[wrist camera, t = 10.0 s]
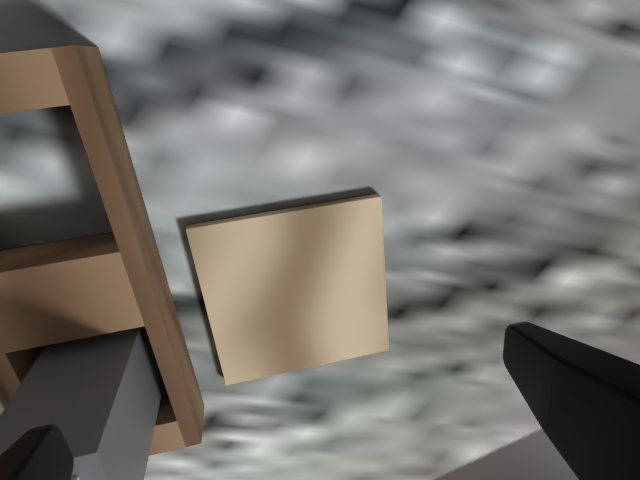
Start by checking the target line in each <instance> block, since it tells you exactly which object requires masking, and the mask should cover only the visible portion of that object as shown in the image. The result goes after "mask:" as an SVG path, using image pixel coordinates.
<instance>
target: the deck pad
mask: <svg viewBox="0 0 640 480" xmlns="http://www.w3.org/2000/svg"><path fill="white" fill-rule="evenodd" d="M186 233H187V237H188V241H189V245H190V248H191V252H192V256H193V260H194V264H195V268H196V272H197V275H198V279H199V283H200V287H201V291H202V295H203V298H204V302H205V306H206V310H207V314H208V318H209V322H210V325H211V329H212V333H213V337H214V341H215V345H216V348H217V352H218V356H219V360H220V364H221V368H222V372H223V375H224V379H225V383H226V385H230V384H235V383H240V382H244V381H249V380H253V379H258V378H263V377H267V376H272V375H277V374H281V373H286V372H290V371H295V370H300V369H304V368H309V367H313V366H318V365H323V364H327V363H332V362H336V361H341V360H346V359H350V358H355V357H359V356H364V355H369V354H373V353H378V352H382V351H387V350H389V342H388V322H387V301H386V281H385V261H384V241H383V221H382V200H381V196H380V195H379V194H372V195H366V196H360V197H354V198H348V199H342V200H336V201H330V202H324V203H318V204H312V205H306V206H300V207H294V208H288V209H282V210H276V211H270V212H264V213H258V214H252V215H246V216H240V217H233V218H227V219H221V220H215V221H209V222H203V223H197V224H191V225H187V226H186Z"/></svg>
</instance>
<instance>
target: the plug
mask: <svg viewBox="0 0 640 480" xmlns="http://www.w3.org/2000/svg"><path fill="white" fill-rule="evenodd" d="M163 385H164V381H163V378H162V375H161V372H160V370H159V367H158V364H157V361H156V358H155V355H154V352H153V349H152V346H151V343H150V340H149V337H148V334H147V331H146V328H145V326H143V327H138V328H133V329H128V330H123V331H117V332H112V333H107V334H102V335H97V336H92V337H87V338H81V339H76V340H71V341H66V342H61V343H56V344H51V345H46V346H45V348H44V349H43V351H42V352H41V354H40V355H39V357H38V358H37V360H36V361H35V363H34V364H33V366H32V367H31V369H30V371H29V372H28V374H27V375H26V377H25V378H24V380H23V381H22V383H21V384H20V386H19V387H18V389H17V391H16V392H15V394H14V395H13V397H12V398H11V400H10V401H9V403H8V404H7V406H6V407H5V409H4V410H3V412H2V414H1V415H0V455H1V454H2V453H3V452H4V451H5V450H6V449H7V448H9V447H10V446H11V445H12V444H13V443H14V442H15V441H17V440H18V439H19V438H20V437H21V436H22V435H23V434H24V433H26V432H27V431H28V430H29V429H31V428H34V427H38V426H43V425H47V424H56V425H58V426H59V427H60V429H61V431H62V433H63V435H64V437H65V439H66V441H67V443H68V445H69V447H70V449H71V451H72V454H73V457H74V467H73V472H72V478H71V480H144V475H145V471H146V466H147V461H148V456H149V452H150V447H151V442H152V437H153V433H154V428H155V423H156V419H157V414H158V409H159V404H160V400H161V395H162V390H163Z"/></svg>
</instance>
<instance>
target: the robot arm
mask: <svg viewBox="0 0 640 480" xmlns="http://www.w3.org/2000/svg"><path fill="white" fill-rule="evenodd" d="M503 360H504V364H505V366H506V368H507V370H508V372H509V373H510V375H511V377H512V379H513V380H514V382H515V384H516V385H517V387H518V389H519V390H520V392H521V394H522V395H523V397H524V399H525V400H526V402H527V404H528V406H529V407H530V409H531V411H532V412H533V414H534V416H535V417H536V419H537V421H538V422H539V424H540V426H541V427H542V429H543V430H544V432H545V433H546V435H547V436H548V438H549V439H550V440H551V442H552V443H553V445H554V446H555V447H556V449H557V450H558V451H559V453H560V454H561V456H562V457H563V458H564V460H565V461H566V462H567V464H568V465H569V466H570V468H571V469H572V471H573V472H574V473H575V475H576V476H577V477H578V479H579V480H640V365H639V364H636V363H634V362H631V361H629V360H626V359H623V358H621V357H618V356H615V355H613V354H610V353H608V352H605V351H602V350H600V349H597V348H595V347H592V346H589V345H587V344H584V343H581V342H579V341H576V340H574V339H571V338H568V337H566V336H563V335H560V334H558V333H555V332H553V331H550V330H547V329H545V328H542V327H539V326H537V325H534V324H532V323H529V322H520V323H515V324H511V325H509V326H507V328H506V330H505V338H504V349H503ZM73 467H74V457H73V454H72V451H71V449H70V447H69V445H68V443H67V441H66V439H65V437H64V435H63V433H62V431H61V429H60V427H59V426H58V425H56V424H47V425H43V426H38V427H34V428H31V429H29V430H28V431H27V432H26V433H24V434H23V435H22V436H21V437H20V438H19V439H18V440H17V441H15V442H14V443H13V444H12V445H11V446H10V447H9V448H7V449H6V450H5V451H4V452H3V453H2V454H1V455H0V480H71V478H72V472H73Z"/></svg>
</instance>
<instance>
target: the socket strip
mask: <svg viewBox="0 0 640 480" xmlns="http://www.w3.org/2000/svg"><path fill="white" fill-rule="evenodd" d="M66 105H70V106H71V109H72V112H73V115H74V118H75V121H76V124H77V127H78V130H79V133H80V136H81V139H82V142H83V145H84V148H85V151H86V154H87V157H88V160H89V163H90V166H91V169H92V172H93V174H94V177H95V180H96V183H97V186H98V189H99V192H100V195H101V198H102V201H103V204H104V207H105V210H106V213H107V216H108V219H109V222H110V225H111V228H112V231H113V232H110V233H104V234H98V235H92V236H86V237H80V238H74V239H68V240H62V241H56V242H50V243H43V244H37V245H31V246H25V247H19V248H13V249H7V250H1V251H0V415H1V414H2V412H3V410H4V409H5V407H6V406H7V404H8V403H9V401H10V400H11V398H12V397H13V395H14V394H15V392H16V391H17V389H18V387H19V386H20V384H21V383H22V381H23V380H24V378H25V377H26V375H27V374H28V372H29V371H30V369H31V367H32V366H33V364H34V363H35V361H36V360H37V358H38V357H39V355H40V354H41V352H42V351H43V349H44V348H45V345H51V344H56V343H61V342H66V341H71V340H76V339H81V338H87V337H92V336H97V335H102V334H107V333H112V332H117V331H123V330H128V329H133V328H138V327H143V326H145V328H146V331H147V334H148V337H149V340H150V343H151V346H152V349H153V352H154V355H155V358H156V361H157V364H158V367H159V370H160V372H161V375H162V378H163V381H164V384H165V387H166V388H164V389H163V390H162V395H161V400H160V404H159V409H158V414H157V419H156V423H155V428H154V433H153V437H152V442H151V447H150V452H149V455H154V454H158V453H162V452H166V451H171V450H175V449H179V448H184V447H188V446H192V445H196V444H201V439H202V427H203V414H204V404H203V400H202V397H201V393H200V390H199V387H198V383H197V380H196V376H195V373H194V370H193V366H192V363H191V360H190V356H189V353H188V349H187V346H186V343H185V339H184V336H183V333H182V329H181V326H180V322H179V319H178V316H177V312H176V309H175V305H174V302H173V299H172V295H171V292H170V289H169V285H168V282H167V278H166V275H165V272H164V268H163V265H162V262H161V258H160V255H159V251H158V248H157V245H156V241H155V238H154V234H153V231H152V228H151V224H150V221H149V218H148V214H147V211H146V207H145V204H144V201H143V197H142V194H141V191H140V187H139V184H138V180H137V177H136V174H135V170H134V167H133V163H132V160H131V157H130V153H129V150H128V147H127V143H126V140H125V136H124V133H123V130H122V126H121V123H120V120H119V116H118V113H117V109H116V106H115V103H114V99H113V96H112V92H111V89H110V86H109V82H108V79H107V76H106V72H105V69H104V65H103V62H102V59H101V55H100V52H99V49H98V47H91V46H81V45H71V46H62V47H52V48H43V49H34V50H25V51H15V52H6V53H0V114H2V113H10V112H18V111H26V110H34V109H42V108H50V107H58V106H66Z"/></svg>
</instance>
